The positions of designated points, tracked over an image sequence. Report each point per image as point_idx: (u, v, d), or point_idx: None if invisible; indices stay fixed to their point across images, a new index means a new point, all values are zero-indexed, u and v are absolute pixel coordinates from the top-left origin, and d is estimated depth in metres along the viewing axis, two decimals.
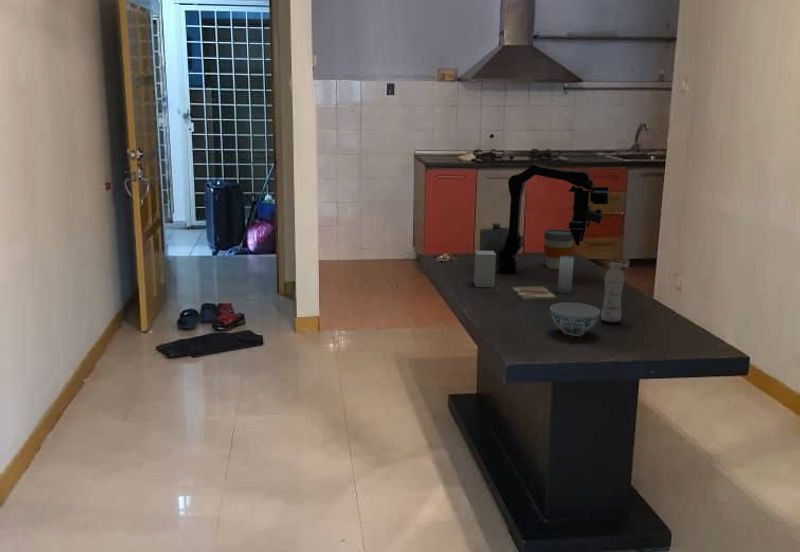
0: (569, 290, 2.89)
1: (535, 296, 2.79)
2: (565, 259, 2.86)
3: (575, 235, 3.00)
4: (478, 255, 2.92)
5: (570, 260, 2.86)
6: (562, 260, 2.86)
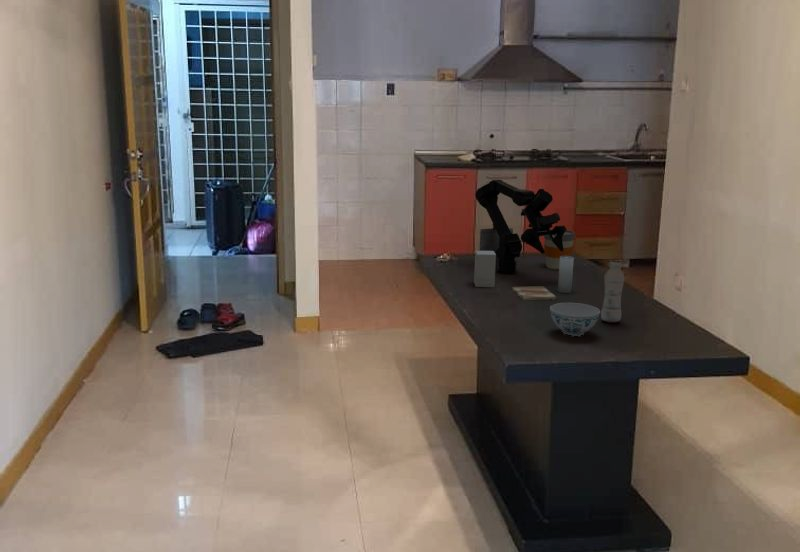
0: (569, 290, 2.89)
1: (535, 296, 2.79)
2: (565, 259, 2.86)
3: (535, 246, 2.93)
4: (478, 255, 2.92)
5: (570, 260, 2.86)
6: (562, 260, 2.86)
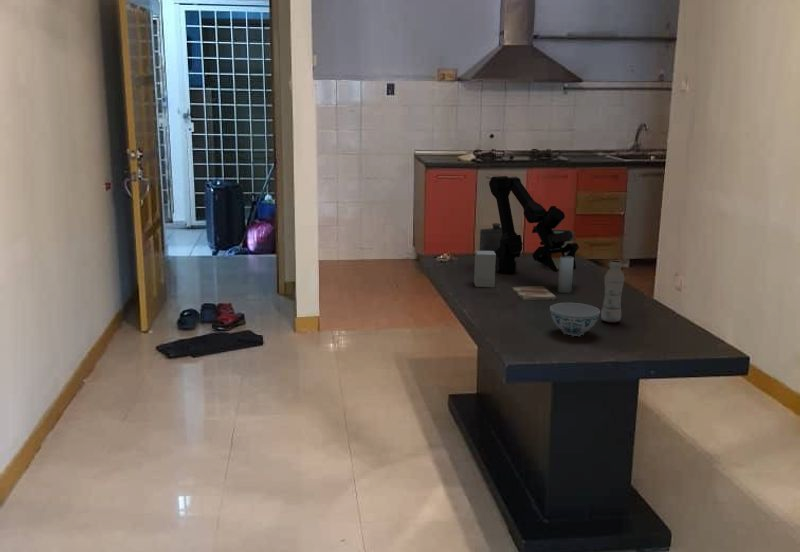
0: (569, 290, 2.89)
1: (535, 296, 2.79)
2: (565, 259, 2.86)
3: (547, 264, 2.88)
4: (478, 255, 2.92)
5: (570, 260, 2.86)
6: (562, 260, 2.86)
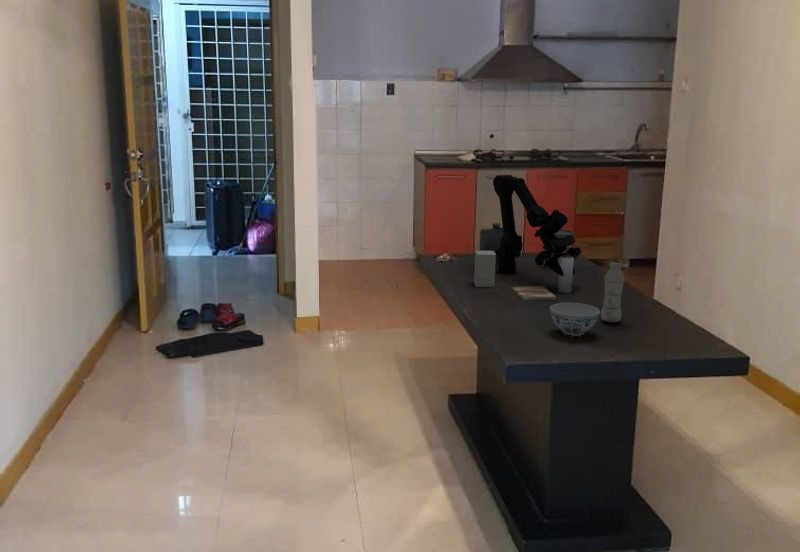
0: (569, 290, 2.89)
1: (535, 296, 2.79)
2: (565, 259, 2.86)
3: (554, 268, 2.88)
4: (478, 255, 2.92)
5: (570, 260, 2.86)
6: (562, 260, 2.86)
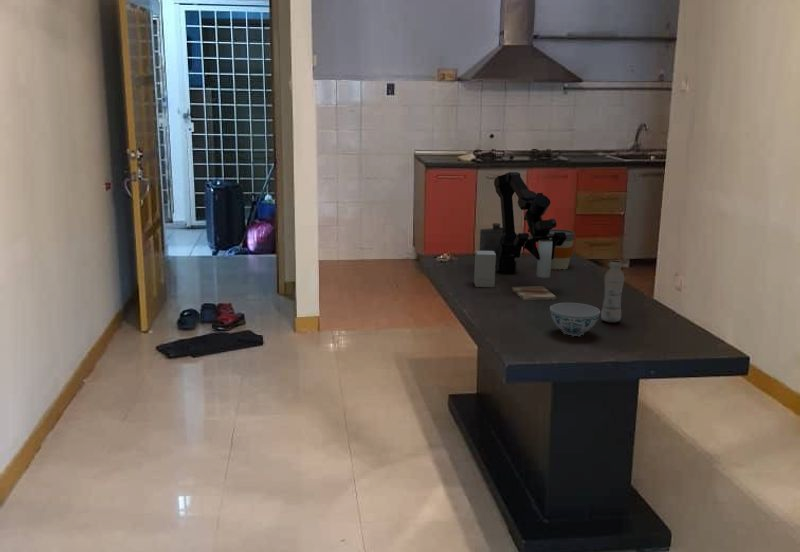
0: (546, 275, 2.82)
1: (535, 296, 2.79)
2: (542, 243, 2.80)
3: (532, 251, 2.84)
4: (478, 255, 2.92)
5: (547, 244, 2.80)
6: (539, 243, 2.81)
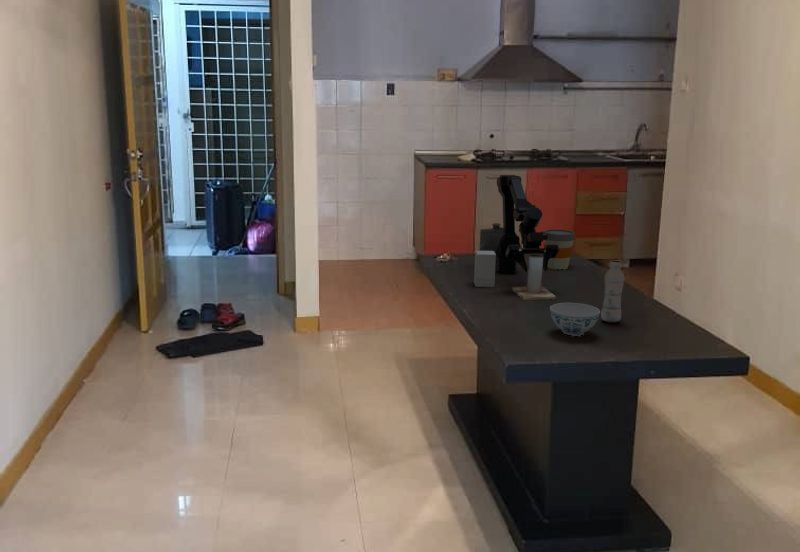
0: (536, 290, 2.83)
1: (535, 296, 2.79)
2: (532, 258, 2.81)
3: (520, 263, 2.84)
4: (478, 255, 2.92)
5: (536, 260, 2.80)
6: (529, 259, 2.82)
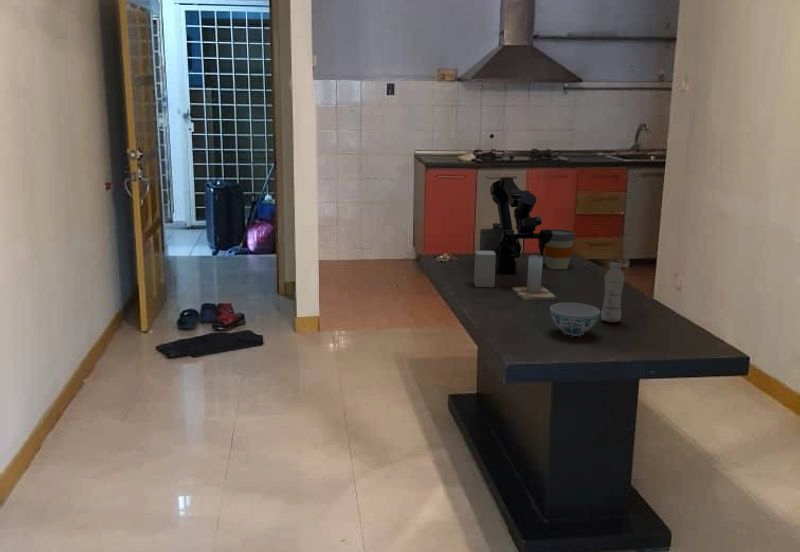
0: (536, 290, 2.83)
1: (535, 296, 2.79)
2: (531, 258, 2.81)
3: (512, 247, 2.91)
4: (478, 255, 2.92)
5: (536, 260, 2.80)
6: (529, 259, 2.82)
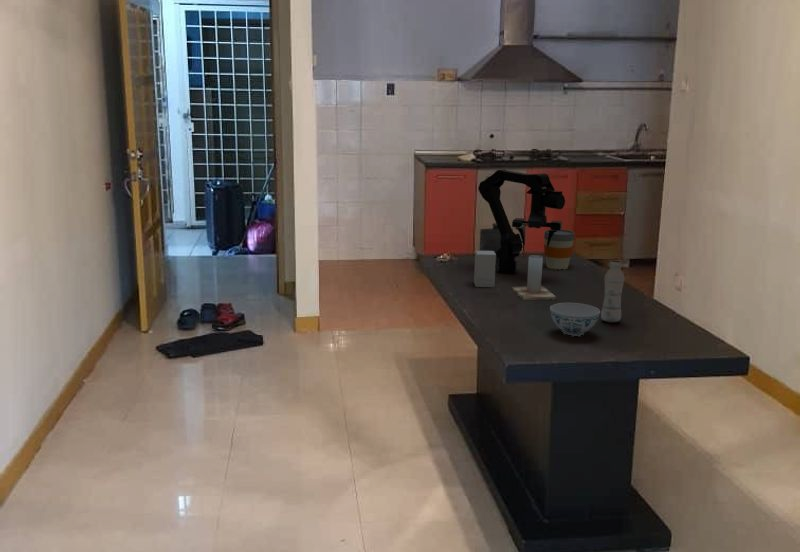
0: (536, 290, 2.83)
1: (535, 296, 2.79)
2: (531, 258, 2.81)
3: None
4: (478, 255, 2.92)
5: (536, 260, 2.80)
6: (529, 259, 2.82)
